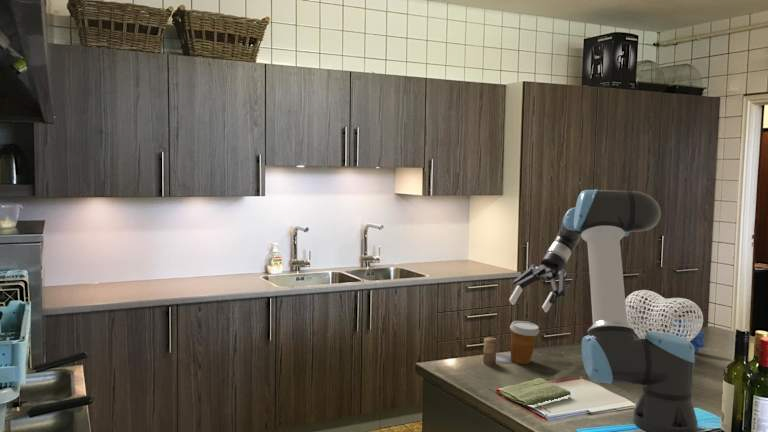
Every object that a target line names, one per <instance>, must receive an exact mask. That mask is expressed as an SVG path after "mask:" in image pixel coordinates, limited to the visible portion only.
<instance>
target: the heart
mask: <svg viewBox="0 0 768 432" xmlns="http://www.w3.org/2000/svg"><path fill="white" fill-rule="evenodd" d="M642 297H643V298H642ZM646 299H647V300H646ZM644 302H645V303H644ZM625 303H626V313H627V323H628V325H630V326H631V327H632V328H633V329H634V332H635V335H637V338H640V339H645V335H646V333H647V332H661V333H666V334H670V335H674V336H676V334H677V333H678V334H679V335H678V336H677V337H680V335H681V334H683V336H682V337H680V338H683V339H687V341H689V342H690V341H691V340H692V339H693V338H695V337H696V336H697V334H698V333H699V332H700V330H701V331H702V328H703V324H704V315H703V314H704V313H703V311H702V310H701V308H700V306H699V305H698V304H697V303H696V302H694V301H692V300H690V299H687V298H683V297H671V298H665V297H663V296H662V295H660V294H659V293H658V292H656V291H655V292H654V291H653V290H652V291H651V290H649V289H648V290H647V289H640V290H636V291H633V292H631V293H630V294H628V295H627V296H626V297H625ZM636 308H637V309H636ZM687 311H688V313H687ZM683 312H684V313H683ZM694 312H695V313H694ZM662 315H663V316H662ZM679 315H680V316H681V317H680V316H679ZM683 315H684V316H683ZM684 319H685V323H684ZM676 320H677V323H676V322H675V321H676ZM688 320H689V322H688ZM679 321H681V323H679ZM690 323H691V324H690ZM692 323H693V324H692ZM694 323H695V324H694ZM674 324H677V327H675V326H674ZM679 324H681V328H679ZM682 324H683V327H682ZM662 325H663V326H662ZM665 325H666V326H667V327H666V326H665ZM684 325H685V328H684ZM686 325H687V328H686ZM688 325H689V328H688ZM690 325H691V328H690ZM693 326H694V328H693ZM650 329H651V330H650ZM674 329H676V331H674ZM678 329H680V332H678ZM672 330H673V331H672ZM683 330H684V333H682V331H683ZM687 330H688V333H686V332H687ZM689 330H690V331H689ZM691 330H692V333H690V332H691ZM694 330H695V331H694ZM672 332H674V333H675V334H673V333H672ZM693 334H694V335H695V336H694V335H693ZM685 335H687V336H686V337H684V336H685ZM689 335H690V336H689Z"/></svg>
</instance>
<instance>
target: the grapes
mask: <svg viewBox="0 0 768 432" xmlns="http://www.w3.org/2000/svg"><path fill="white" fill-rule="evenodd" d="M674 322H676V323H677V319H675V321H674ZM688 322H689V319H688ZM679 323H681V320H679ZM684 323H685V319H684ZM690 324H691V323H690ZM692 324H693V323H692ZM694 324H695V323H694ZM674 327H677V324H674ZM682 327H683V324H682ZM679 328H681V324H679ZM684 328H685V325H684ZM686 328H687V325H686ZM688 328H689V325H688ZM690 328H691V325H690ZM693 328H694V326H693ZM672 331H673V330H672ZM674 331H676V329H674ZM689 331H690V330H689ZM694 331H695V330H694ZM678 332H680V329H678ZM672 333H673V334H675V333H674V332H672ZM682 333H684V330H683V331H682ZM686 333H688V330H687V332H686ZM690 333H692V330H691V332H690ZM678 335H679V334H678V333H677V334H676V336H678ZM693 335H694V334H693ZM705 335H706V334H705V333H704V331H703V330H702V329H701V330H700V332H699V333H698V334H697V336H696V337H695V338H693V339H692V340H691V341H690V343H691V344H692V345H693V346H694V350H695V352H694V354H697V353H699V351H700V348H701V349H703V348H705V345H706V343H705V341H704V340H703V339H704V338H705V337H706V336H705ZM682 336H683V334H681V335H680V337H682ZM686 336H687V335H685V336H684V337H686ZM689 336H690V335H689ZM694 336H695V335H694ZM685 340H687V339H685Z"/></svg>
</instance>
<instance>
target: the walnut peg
mask: <svg viewBox="0 0 768 432" xmlns="http://www.w3.org/2000/svg"><path fill="white" fill-rule="evenodd" d="M497 342H498V339H497V338H495V337H489V336H488V337H485V338H483V356H482V357H483V359H482V360H483V361H482V362H483V364H485V365H484V366H486V365H495V364H496V363H497V361H496V354H497V344H498V343H497ZM483 364H482V365H483Z"/></svg>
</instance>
